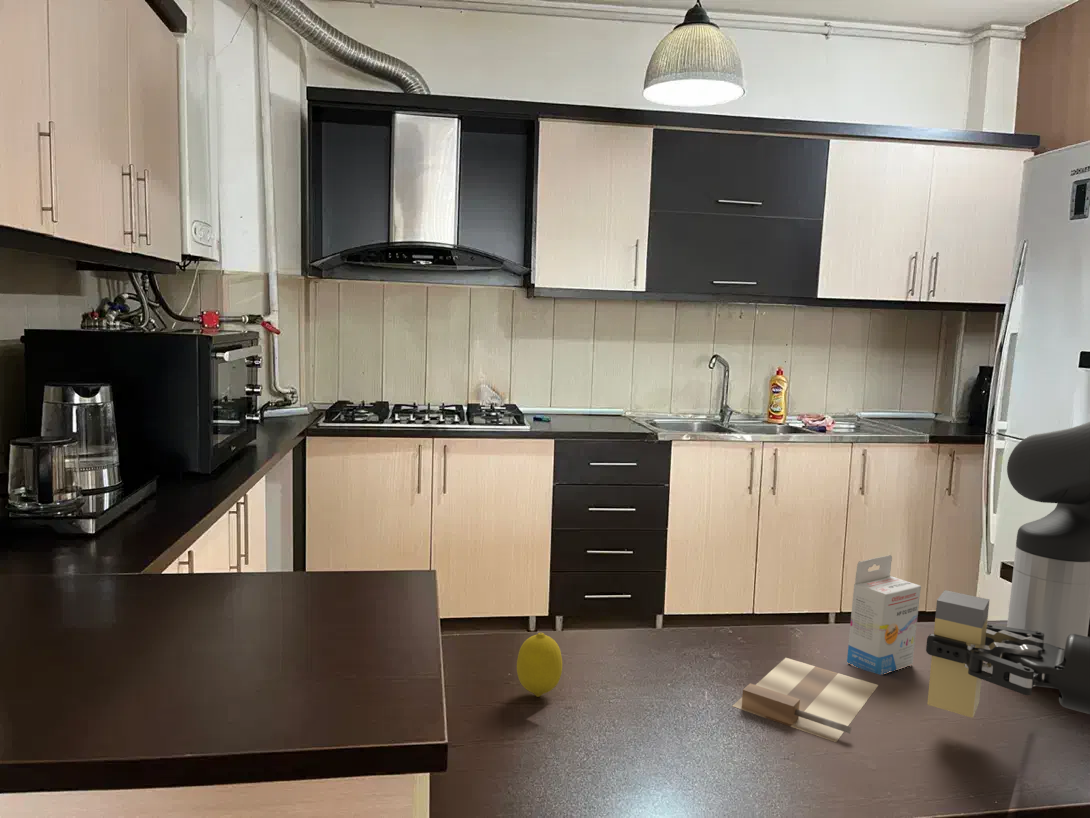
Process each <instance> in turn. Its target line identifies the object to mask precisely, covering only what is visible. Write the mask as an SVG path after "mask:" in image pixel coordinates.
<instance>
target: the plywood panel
mask: <svg viewBox="0 0 1090 818" xmlns="http://www.w3.org/2000/svg"><path fill="white" fill-rule="evenodd" d="M755 685H757V686H760V687H763V688H766V689H769V690H773V691H776V692H779V693H782V694H785V695H788V696H791V697H794V698H797V699H800V706H799V710H801V711H804V712H807V713H810V714H813V715H816V716H819V717H822V718H825V719H828V720H831V721H834V722H837V723H840V724H843V725H846V726H849V727H850V725H851V723H852V722H853V720H854V719H855V718H856V716H857V715H858V714H859V713H860V712H861V709H862V708H863V707H864V706H865V704H866V703H867V702H868V701H869V699H870V698H871V696H872V695H873V693H874V692H875V691H876V689H877V688H878V687H879V684H876V683H873V682H869V681H867V680H863V679H859V678H856V677H852V676H849V675H845V674H842V673H839V672H836V671H832V670H829V669H825V668H822V667H819V666H816V665H812V664H809V663H805V662H802V661H798V660H795V659H792V658H788V657H785V658H783V659H782V660H781V661H780V662H779V663H778V664H777V665H776V666H775V667H774V668H772V670H770V671H769V672H768V673H767V674H766V675H765V676H763V678H762V679H760V680H759V681H758V682H757V683H756V684H755ZM731 707H733V708H736V709H739V710H741V711H745V712H746V713H750V714H753V715H756V716H759V717H762V718H765V719H767V720H770V721H774V722H776V723H779V724H782V725H785V726H788V727H790V728H793V729H795V730H799V731H802V732H805V733H808V734H810V735H813V736H817V737H819V738H821V739H825V740H827V741H830V742H833V743H838V740H839V739H840V738H841V737H842V736H843V734H844V733H845V732H844V731H841V730H838V729H835V728H832V727H829V726H826V725H823V724H820V723H817V722H814V721H811V720H808V719H805V718H802V717H799V718H798V719H797V720H796V721H795V722H794V723H793V724H792V725H791V724H788V723H785V722H782V721H779V720H776V719H773V718H770V717H767V716H765V715H762V714H759V713H756V712H753V711H750V710H747V709H744V708H742V697H740V698H739V699H738V700H737V701H736V702H735V703H734V704H733V705H732V706H731Z"/></svg>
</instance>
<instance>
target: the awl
mask: <svg viewBox="0 0 1090 818" xmlns="http://www.w3.org/2000/svg"><path fill="white" fill-rule="evenodd" d="M741 698H742V708H744V709H747V710H750V711H753V712H756V713H759V714H762V715H765V716H767V717H770V718H773V719H776V720H779V721H782V722H785V723H788V724H791V725H792V724H793V723H794V722H795V721H796V720H797V719H798V718H799V717H802V718H805V719H808V720H811V721H814V722H817V723H820V724H823V725H826V726H829V727H832V728H835V729H838V730H841V731H844V733H847V734H851V732H852V727H851V726H850V725H849V726H846V725H843V724H840V723H837V722H834V721H831V720H828V719H825V718H822V717H819V716H816V715H813V714H810V713H807V712H804V711H801V710H799V706H800V699H797V698H794V697H791V696H788V695H785V694H782V693H779V692H776V691H773V690H769V689H766V688H763V687H760V686H757V685H756V684H753V683H751V682H750V683H749V684H747V685H746V686H745V687H744V688H743V689H742V696H741Z"/></svg>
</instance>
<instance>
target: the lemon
mask: <svg viewBox="0 0 1090 818" xmlns="http://www.w3.org/2000/svg"><path fill="white" fill-rule="evenodd" d="M517 654H518V655H517V659H516V673H517V677H518V680H519V682H520V684H521V686H522V687H523V688H524V689H525V690H526V691H528V692H529V693H532V694H533V695H535V697H538V698H540V697H541V696H543V695H544V694H547V693H549V692H551V691H552V690H554V689H555V687H557V685H558V684H559V682H560V679H561V678H562V677H561V676H562V672H563V657H562V651H561V648H560V646H559V644H558V643H557V642H556V640H555V639H554V638H552V637H551V636H549V635H546V634H545V633H544V632H538V633H537V634H534V635H531V636H530V637H528V638H527V639H525V640H524V642H523V643H522V645H521V646H520V648H519V651H518V653H517Z"/></svg>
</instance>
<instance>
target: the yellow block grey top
mask: <svg viewBox="0 0 1090 818" xmlns="http://www.w3.org/2000/svg"><path fill="white" fill-rule="evenodd" d="M989 607H990V599H989V598H985V597H981V596H975V595H969V594H965V593H962V592H955V591H951V590H945V589H944V590H943V592H942V593H941V594H940V595H939V597H937V599H936V607H935V619H934V628H933V634H935V635H939V636H943V637H947V638H951V639H955V640H960V641H964V642H966V644H967V643H974V644H980V645H985V640H986V630H987V624H988V620H989V618H988V617H989V610H990V609H989ZM930 660H931V662H930V670H929V683H928V693H927V695H928V696H927V706H930V707H933V708H938V709H941V710H944V711H949V712H951V713H955V714H959V715H960V716H965V717H968V718H972V719H974V717H975V714H976V712H977V709H978V707H979V703H980V698H981V690H982V680H983V679H980V678H977V677H974V676H972V675H970V674H968V668H966V667H965V666H964V663H959V662H955V661H951V660H948V659H944V658H940V657H936V656H932V655H931V659H930Z"/></svg>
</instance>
